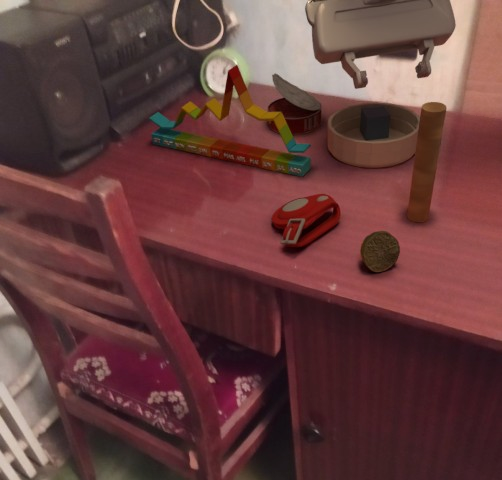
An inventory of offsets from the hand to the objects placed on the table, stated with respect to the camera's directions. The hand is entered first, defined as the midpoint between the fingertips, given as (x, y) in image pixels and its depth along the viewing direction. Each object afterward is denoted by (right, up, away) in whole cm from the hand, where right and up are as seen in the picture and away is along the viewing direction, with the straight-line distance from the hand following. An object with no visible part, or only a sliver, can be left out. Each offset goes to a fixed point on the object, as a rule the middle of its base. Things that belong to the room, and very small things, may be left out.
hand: (393, 81), depth 83 cm
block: (+1, -1, +19) cm, 19 cm away
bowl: (+1, -4, +17) cm, 17 cm away
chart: (-24, -5, +19) cm, 31 cm away
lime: (-4, -27, -6) cm, 28 cm away
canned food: (-12, +3, +26) cm, 29 cm away
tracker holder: (-13, -21, +1) cm, 25 cm away
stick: (+4, -19, +1) cm, 19 cm away
